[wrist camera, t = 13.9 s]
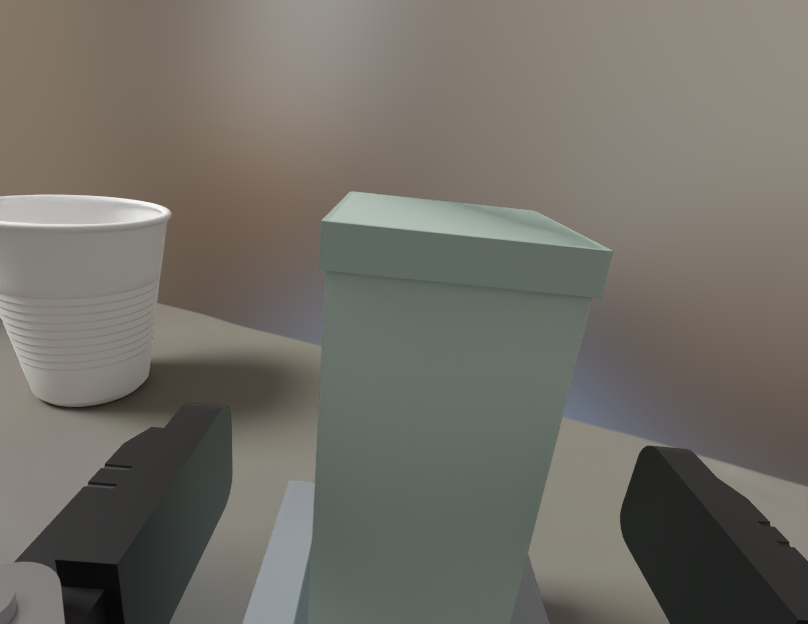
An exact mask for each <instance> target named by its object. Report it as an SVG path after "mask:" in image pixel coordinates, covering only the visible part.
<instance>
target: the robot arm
mask: <svg viewBox="0 0 808 624" xmlns="http://www.w3.org/2000/svg"><path fill="white" fill-rule="evenodd" d="M231 483H232V426H231V412H230V409H229V407H228V406H220V405H209V404H198V403H186V404H184V405H183V406H182V407H181V408H180V409H179V411H178V412H177V413H176V414H175V415H174V417H173V418H172V419H171V420H170V421H169V423H168V424H167V425H166V426H165V428H157V427H151V428H149V429H147V430H146V431H144V432H142V433H140V434H139V435H137V436H135V437H134V438H132V439H130V440H129V441H127V442H125V443H124V444H123V445H122V446H121V447H120V448H119V449H118V450H117V451H116V452H115V453H114V455H113V456H112V457H111V458H110V459H109V460H108V461H107V462H106V463H105V467H104V468H101V469H100V470H99V471H98V472H97V473H96V474H95V475H94V476H93V477H92V478H91V479H90V481H89V482H88V486H87V487H85V486H84V487H83V488H82V489H81V490H80V491H79V492H78V494H77V495H76V496H75V497H74V498H73V499H72V500H71V501H70V502H69V503H68V504H67V505H66V507H65V508H64V509H63V510H62V511H61V512H60V513H59V514H58V515H57V516H56V517H55V518H54V520H53V521H52V522H51V523H50V524H49V525H48V526H47V527H46V528H45V529H44V530H43V531H42V532H41V534H40V535H39V536H38V537H37V538H36V539H35V540H34V541H33V542H32V543H31V544H30V545H29V547H28V548H27V549H26V550H25V551H24V552H23V553H22V554H21V555H20V556H19V557H18V558H17V560H16V561H15V562H13V563H7V564H2V565H0V624H169V622H170V620H171V618H172V616H173V614H174V612H175V610H176V608H177V606H178V604H179V602H180V600H181V598H182V595H183V593H184V591H185V589H186V587H187V585H188V583H189V581H190V579H191V577H192V575H193V573H194V571H195V569H196V567H197V565H198V562H199V560H200V558H201V556H202V554H203V552H204V550H205V548H206V546H207V544H208V542H209V540H210V538H211V536H212V534H213V532H214V529H215V527H216V525H217V523H218V521H219V519H220V517H221V515H222V513H223V511H224V509H225V506H226V504H227V501H228V498H229V494H230V489H231ZM620 524H621V531H622V535H623V538H624V541H625V543H626V545H627V547H628V548H629V550H630V552H631V554H632V556H633V557H634V559H635V561H636V563H637V565H638V566H639V568H640V570H641V572H642V574H643V575H644V577H645V579H646V581H647V583H648V584H649V586H650V588H651V590H652V592H653V593H654V595H655V597H656V599H657V601H658V602H659V604H660V606H661V608H662V610H663V611H664V613H665V615H666V617H667V619H668V620H669V622H670V624H808V561H807V560H806V559H805V558H804V557H803V556H802V555H801V554H800V553H799V552H798V551H797V550H796V549H795V548H794V547H790V545H789V541H788V540H787V539H786V538H785V537H784V536H783V535H782V534H781V533H780V532H779V531H778V530H777V529H776V528H775V527H771V526H770V522H769V521H768V520H767V519H766V517H765V516H764V515H763V514H762V513H761V512H760V511H759V510H758V509H757V508H756V507H755V506H754V505H753V504H752V503H751V502H750V501H749V500H748V499H747V498H746V497H744V496H743V495H741V494H740V493H738V492H737V491H736V490H734V489H733V488H731V487H730V486H728V485H727V484H725V483H724V482H723V481H721V480H720V479H718V478H717V477H716V476H715V475H714V474H713V473H712V472H711V471H710V470H709V468H708V467H707V466H706V465H705V464H704V463H703V462H702V461H701V460H700V459H699V458H698V457H697V456H696V455H695V454H694V453H693V452H692V451H690V450H688V449H681V448H670V447H659V446H646V447H644V448H643V449H642V450H641V452H640V454H639V456H638V459H637V462H636V465H635V468H634V471H633V474H632V477H631V480H630V483H629V486H628V489H627V492H626V495H625V498H624V501H623V504H622V508H621V513H620Z"/></svg>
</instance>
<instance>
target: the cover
mask: <svg viewBox="0 0 808 624" xmlns="http://www.w3.org/2000/svg"><path fill="white" fill-rule="evenodd" d="M612 255H613V251H611V250H610V249H608V248H606V247H604V246H602V245H600V244H598V243H596V242H594V241H592V240H590V239H588V238H586V237H585V236H582V235H581V234H578V233H577V232H575V231H573V230H571V229H569V228H567V227H565V226H563V225H561V224H559V223H557V222H555V221H553V220H551V219H549V218H547V217H545V216H543V215H542V214H540V213H538V212H536V211H529V210H520V209H511V208H501V207H492V206H482V205H474V204H473V205H472V204H464V203H455V202H445V201H435V200H426V199H418V198H407V197H399V196H389V195H380V194H371V193H361V192H352V191H351V192H350V193H348V194H347V195H346V196H345V197H344V198H343V199H342V200H341V202H339V203H338V204H337V205H336V206H335V208H333V209H332V210H331V211H330V212H329V214H327V215H326V216H325V217H324V218H323V219H322V221H321V234H320V256H319V270H324V271H326V278H325V297H324V316H323V336H322V355H321V374H320V394H319V413H318V433H317V452H316V472H315V491H314V511H313V530H312V550H311V569H310V589H309V608H308V624H510V622H511V618H512V614H513V610H514V606H515V602H516V598H517V594H518V590H519V586H520V582H521V578H522V575H523V571H524V567H525V563H526V559H527V555H528V551H529V547H530V543H531V539H532V535H533V531H534V527H535V523H536V519H537V515H538V511H539V507H540V503H541V499H542V495H543V492H544V488H545V484H546V480H547V476H548V472H549V468H550V464H551V460H552V456H553V452H554V448H555V444H556V440H557V436H558V432H559V428H560V424H561V420H562V416H563V412H564V408H565V405H566V401H567V397H568V393H569V389H570V384H571V381H572V376H573V373H574V369H575V365H576V361H577V357H578V353H579V349H580V345H581V341H582V337H583V333H584V329H585V326H586V322H587V318H588V313H589V309H590V306H591V302H592V298H593V297H594V298H601V296H602V293H603V289H604V285H605V281H606V278H607V274H608V269H609V266H610V262H611V258H612Z"/></svg>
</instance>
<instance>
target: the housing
mask: <svg viewBox="0 0 808 624" xmlns="http://www.w3.org/2000/svg"><path fill="white" fill-rule="evenodd" d="M314 491H315V482H303V481H291V480H289V483H288V486H287V489H286V492H285V495H284V498H283V501H282V504H281V507H280V510H279V513H278V516H277V519H276V522H275V525H274V528H273V532H272V535H271V538H270V541H269V544H268V547H267V550H266V553H265V556H264V559H263V562H262V565H261V568H260V571H259V574H258V577H257V580H256V583H255V586H254V589H253V593H252V596H251V599H250V602H249V605H248V608H247V611H246V614H245V617H244V620H243V623H242V624H308V608H309V589H310V569H311V550H312V530H313V511H314ZM510 624H549V620H548V617H547V614H546V611H545V608H544V604H543V601H542V598H541V595H540V591H539V588H538V585H537V582H536V578H535V575H534V572H533V569H532V566H531V562H530V559H529V556H528V555H527V559H526V563H525V567H524V571H523V575H522V578H521V582H520V586H519V590H518V594H517V598H516V602H515V606H514V610H513V614H512V618H511V622H510Z"/></svg>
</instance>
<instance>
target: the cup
mask: <svg viewBox="0 0 808 624" xmlns="http://www.w3.org/2000/svg"><path fill="white" fill-rule="evenodd" d="M170 217H171V212H170V211H169V209H167V208H165V207H163V206H160V205H157V204H153V203H149V202H143V201H137V200H131V199H123V198H112V197H100V196H82V195H21V196H3V197H0V318H1V319H2V321H3V324H4V327H5V328H6V331H7V334H8V335H9V338H10V341H11V343H12V344H13V348H14V350H15V351H16V354H17V358H18V359H19V361H20V365H21V367H22V369H23V372H24V374H25V376H26V379H27V381H28V383H29V386H30V388H31V390H32V393H33V394H34V395H35V396H36V397H37V398H39V399H41V400H43V401H46V402H48V403H50V404H54V405H58V406H66V407H83V406H92V405H98V404H103V403H107V402H111V401H114V400H117V399H119V398H122V397H124V396H126V395H128V394H130V393H131V392H133V391H135V390H136V389H137V388H138V387H139V386H140V385H141V384H142V383H144V382H145V380H146V379H147V378H148V375H149V370H150V362H151V353H152V341H153V333H154V325H155V317H156V315H155V313H156V305H157V297H158V289H159V281H160V274H161V267H162V258H163V250H164V241H165V233H166V224H167V221H168V220H169V219H170Z"/></svg>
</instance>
